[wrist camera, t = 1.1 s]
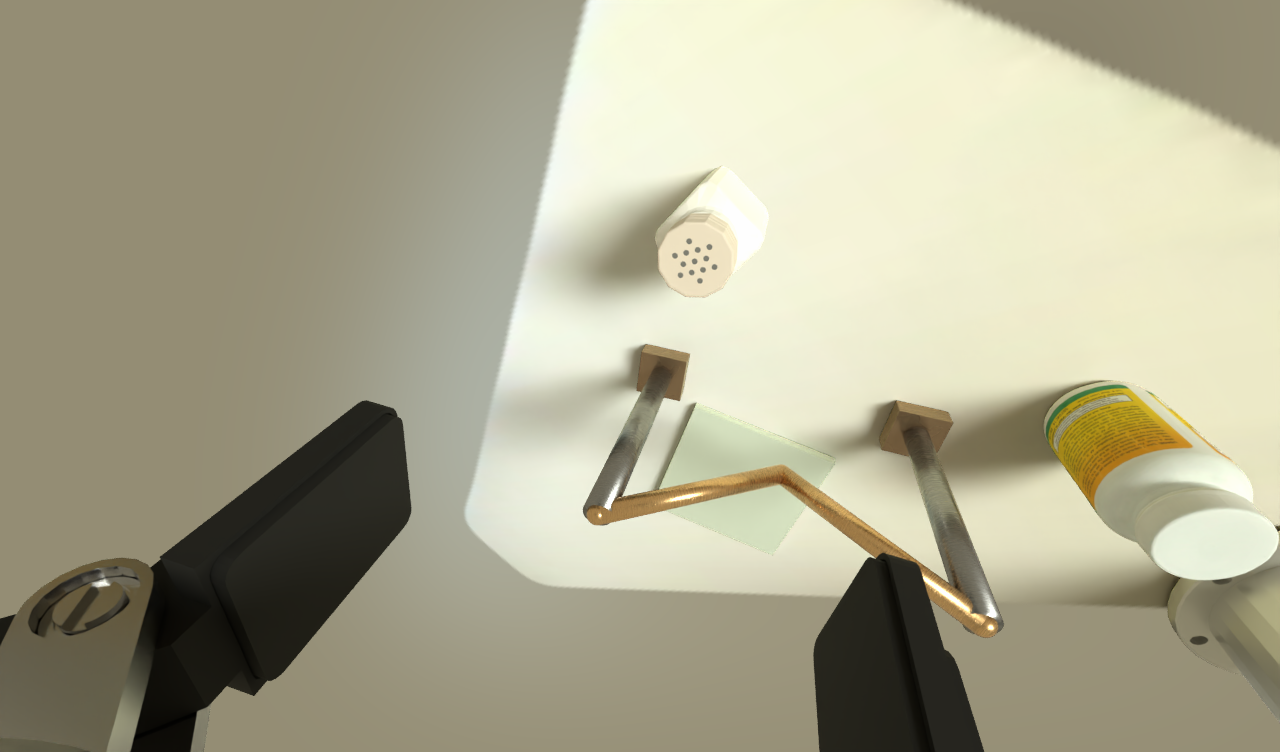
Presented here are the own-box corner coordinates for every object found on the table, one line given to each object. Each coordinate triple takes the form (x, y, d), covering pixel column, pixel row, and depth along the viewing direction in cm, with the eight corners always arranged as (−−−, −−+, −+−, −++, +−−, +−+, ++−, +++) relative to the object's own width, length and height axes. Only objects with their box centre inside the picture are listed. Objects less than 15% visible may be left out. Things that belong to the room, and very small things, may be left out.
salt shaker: (721, 262, 30) (694, 325, 22) (673, 213, 29) (627, 260, 21) (773, 213, 28) (766, 262, 20) (723, 159, 27) (694, 188, 19)
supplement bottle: (1182, 392, 27) (1348, 521, 19) (1118, 467, 30) (1239, 608, 22) (1072, 366, 28) (1187, 479, 20) (1020, 442, 31) (1102, 569, 22)
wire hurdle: (948, 411, 31) (1049, 623, 19) (927, 450, 32) (1009, 669, 20) (646, 344, 34) (562, 487, 22) (641, 382, 35) (560, 535, 23)
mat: (834, 458, 34) (835, 463, 34) (772, 549, 40) (772, 555, 39) (696, 402, 35) (695, 407, 35) (653, 499, 40) (652, 504, 40)
